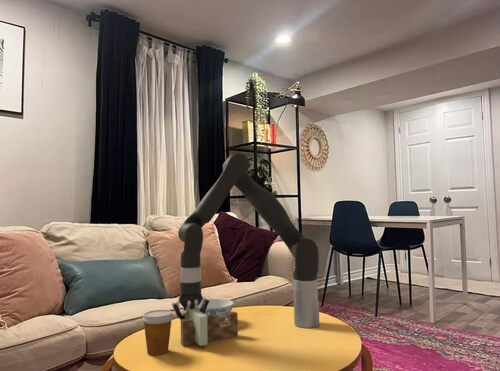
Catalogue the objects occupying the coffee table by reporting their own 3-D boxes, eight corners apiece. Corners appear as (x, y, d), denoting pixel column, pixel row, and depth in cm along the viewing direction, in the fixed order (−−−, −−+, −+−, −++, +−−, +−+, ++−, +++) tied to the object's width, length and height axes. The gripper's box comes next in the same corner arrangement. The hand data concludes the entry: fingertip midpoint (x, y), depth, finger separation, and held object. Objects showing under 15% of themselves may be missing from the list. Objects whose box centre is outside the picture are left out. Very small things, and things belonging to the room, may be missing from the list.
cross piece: (186, 333, 130) (186, 307, 131) (192, 332, 131) (192, 306, 132) (200, 345, 118) (199, 317, 119) (207, 344, 119) (207, 315, 120)
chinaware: (204, 331, 137) (204, 310, 137) (190, 321, 150) (190, 302, 150) (240, 324, 144) (239, 304, 145) (223, 316, 157) (223, 297, 158)
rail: (234, 334, 133) (234, 311, 133) (237, 336, 130) (237, 312, 131) (180, 344, 123) (180, 319, 124) (183, 346, 121) (182, 321, 122)
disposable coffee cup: (179, 349, 119) (179, 310, 120) (160, 359, 110) (160, 318, 111) (155, 345, 123) (155, 308, 124) (135, 355, 114) (135, 315, 115)
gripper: (205, 276, 138) (205, 324, 136) (168, 280, 131) (168, 330, 130) (212, 279, 131) (213, 329, 130) (174, 283, 124) (174, 336, 123)
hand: (190, 329), depth 130 cm, fingers closed on cross piece, 2 cm apart
